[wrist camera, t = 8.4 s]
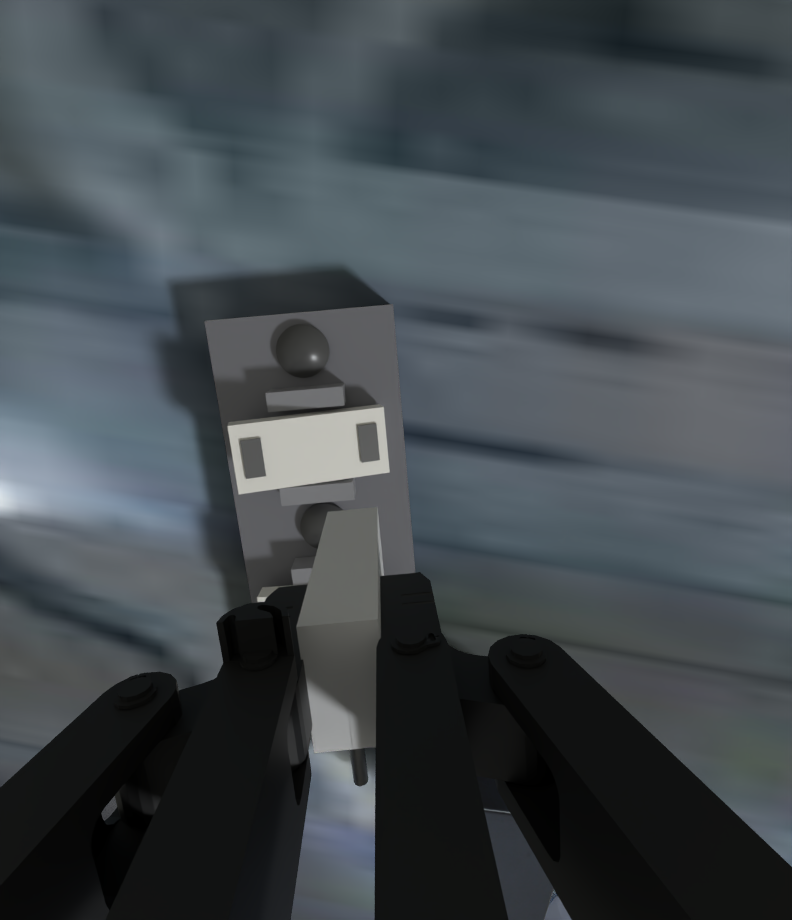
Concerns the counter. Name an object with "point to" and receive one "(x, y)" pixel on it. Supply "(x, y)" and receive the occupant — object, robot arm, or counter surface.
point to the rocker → (308, 448)
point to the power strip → (303, 391)
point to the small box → (514, 860)
